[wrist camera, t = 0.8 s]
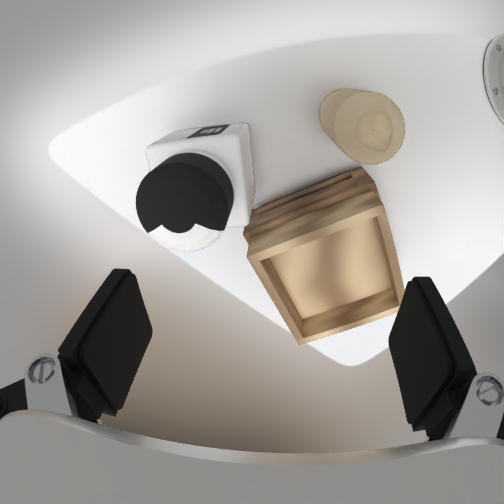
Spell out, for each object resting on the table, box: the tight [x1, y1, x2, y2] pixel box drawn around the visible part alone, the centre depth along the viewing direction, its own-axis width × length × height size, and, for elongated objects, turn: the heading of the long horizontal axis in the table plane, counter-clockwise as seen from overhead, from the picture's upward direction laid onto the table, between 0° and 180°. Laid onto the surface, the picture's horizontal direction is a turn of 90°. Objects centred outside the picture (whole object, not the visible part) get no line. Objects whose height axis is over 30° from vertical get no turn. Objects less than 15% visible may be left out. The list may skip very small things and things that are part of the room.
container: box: [136, 123, 255, 252], centre depth 25 cm, size 8×8×13 cm
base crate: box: [243, 167, 381, 244], centre depth 32 cm, size 13×13×5 cm
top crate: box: [247, 189, 405, 345], centre depth 28 cm, size 12×12×4 cm
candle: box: [319, 89, 405, 164], centre depth 22 cm, size 6×6×10 cm
